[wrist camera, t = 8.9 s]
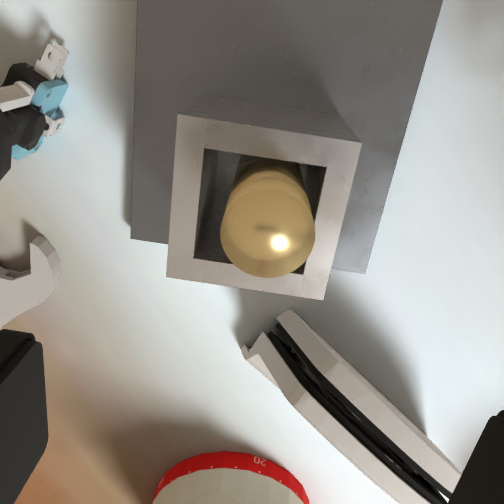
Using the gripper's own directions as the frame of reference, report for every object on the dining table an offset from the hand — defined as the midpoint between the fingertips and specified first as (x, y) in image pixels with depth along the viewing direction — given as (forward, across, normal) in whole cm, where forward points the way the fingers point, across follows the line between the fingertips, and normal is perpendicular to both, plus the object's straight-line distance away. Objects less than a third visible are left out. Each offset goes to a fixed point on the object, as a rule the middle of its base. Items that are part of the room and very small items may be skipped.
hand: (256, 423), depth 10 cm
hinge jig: (+20, +1, -4) cm, 20 cm away
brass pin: (+19, 0, 0) cm, 19 cm away
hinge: (+20, -8, +15) cm, 27 cm away
